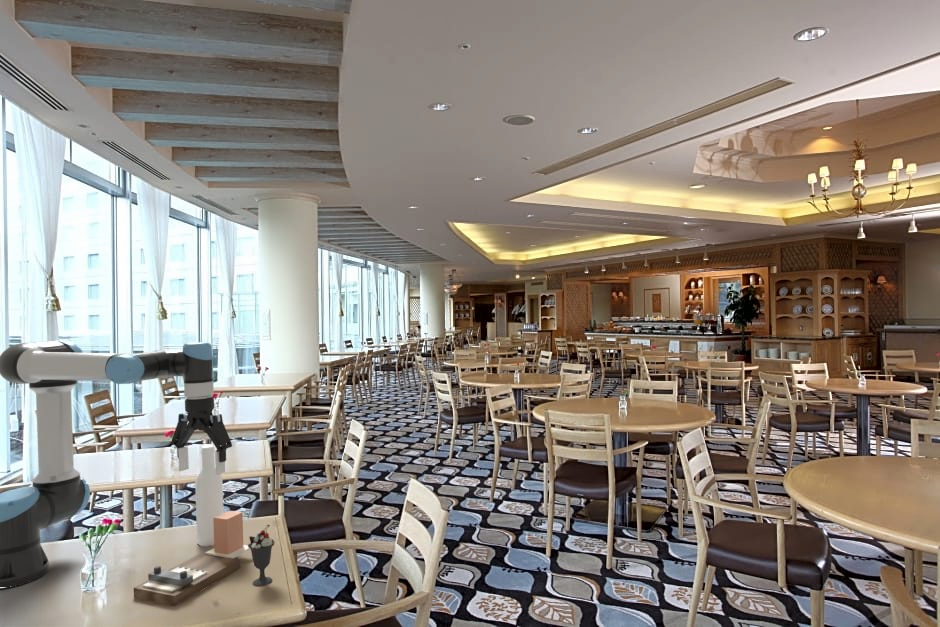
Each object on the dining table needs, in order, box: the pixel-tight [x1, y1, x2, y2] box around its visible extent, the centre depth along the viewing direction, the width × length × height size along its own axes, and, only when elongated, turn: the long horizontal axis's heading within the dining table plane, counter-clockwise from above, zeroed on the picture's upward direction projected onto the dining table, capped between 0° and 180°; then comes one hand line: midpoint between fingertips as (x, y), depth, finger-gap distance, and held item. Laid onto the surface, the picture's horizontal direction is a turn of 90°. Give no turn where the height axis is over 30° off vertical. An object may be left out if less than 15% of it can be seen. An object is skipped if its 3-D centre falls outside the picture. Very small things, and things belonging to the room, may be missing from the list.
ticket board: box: [133, 552, 242, 607], centre depth 154 cm, size 14×22×6 cm, turn 159°
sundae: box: [247, 524, 275, 587], centre depth 153 cm, size 7×7×15 cm
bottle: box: [194, 444, 224, 547], centre depth 181 cm, size 8×8×30 cm
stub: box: [205, 510, 251, 559], centre depth 167 cm, size 10×8×10 cm
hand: (201, 471), depth 164 cm, fingers open, 13 cm apart
